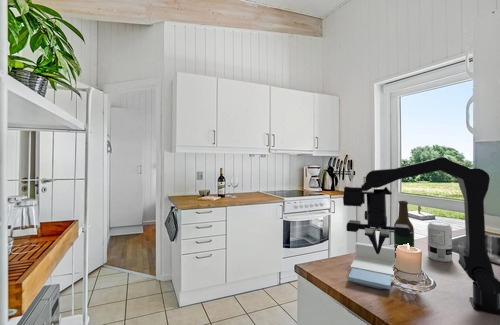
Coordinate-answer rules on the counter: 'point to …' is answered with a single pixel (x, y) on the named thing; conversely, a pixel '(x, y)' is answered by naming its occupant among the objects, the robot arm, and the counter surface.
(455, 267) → the counter surface
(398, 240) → the beer bottle
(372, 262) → the white stepped block
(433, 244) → the supplement can
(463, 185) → the robot arm
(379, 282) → the panel
